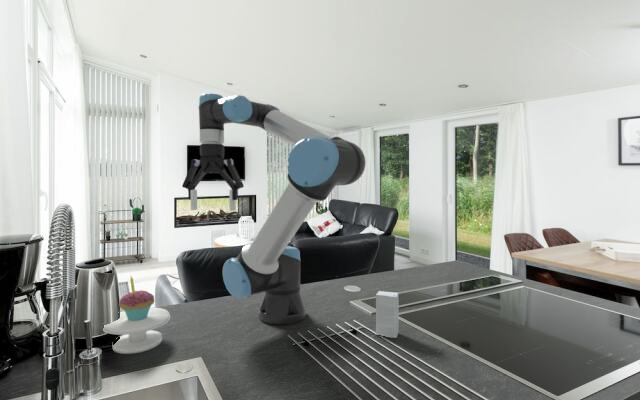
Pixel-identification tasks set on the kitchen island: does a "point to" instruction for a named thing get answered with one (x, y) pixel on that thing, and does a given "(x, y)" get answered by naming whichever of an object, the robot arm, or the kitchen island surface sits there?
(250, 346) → the kitchen island surface
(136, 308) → the cupcake
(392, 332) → the skincare box
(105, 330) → the cake stand
